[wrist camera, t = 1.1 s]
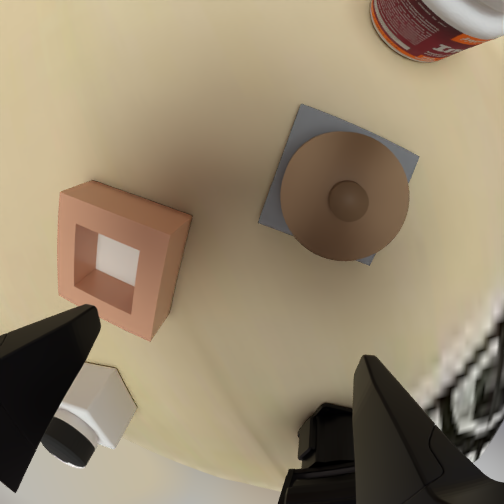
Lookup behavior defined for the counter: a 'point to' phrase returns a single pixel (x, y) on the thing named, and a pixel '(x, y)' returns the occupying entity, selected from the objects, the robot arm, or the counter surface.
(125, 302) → the salmon pink square box
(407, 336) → the counter surface
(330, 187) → the walnut lid
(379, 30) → the pill bottle
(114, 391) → the medicine bottle
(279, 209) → the coaster mat
